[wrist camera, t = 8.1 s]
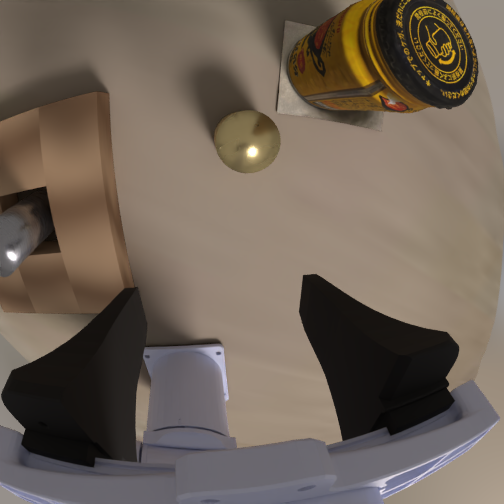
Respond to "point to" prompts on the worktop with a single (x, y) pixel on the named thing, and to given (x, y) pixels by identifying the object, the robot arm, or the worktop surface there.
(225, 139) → the short stub
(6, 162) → the hole block
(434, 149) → the worktop surface
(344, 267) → the worktop surface
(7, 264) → the grey cylinder
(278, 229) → the worktop surface
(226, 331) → the worktop surface
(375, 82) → the condiment
